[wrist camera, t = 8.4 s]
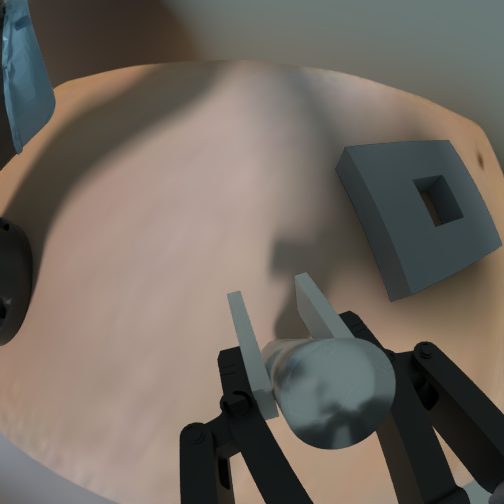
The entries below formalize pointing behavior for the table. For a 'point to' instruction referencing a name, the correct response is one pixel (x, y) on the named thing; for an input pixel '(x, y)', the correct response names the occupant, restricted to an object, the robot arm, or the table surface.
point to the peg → (330, 388)
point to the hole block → (417, 211)
